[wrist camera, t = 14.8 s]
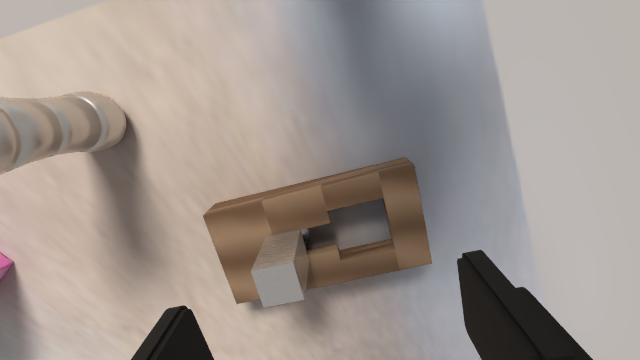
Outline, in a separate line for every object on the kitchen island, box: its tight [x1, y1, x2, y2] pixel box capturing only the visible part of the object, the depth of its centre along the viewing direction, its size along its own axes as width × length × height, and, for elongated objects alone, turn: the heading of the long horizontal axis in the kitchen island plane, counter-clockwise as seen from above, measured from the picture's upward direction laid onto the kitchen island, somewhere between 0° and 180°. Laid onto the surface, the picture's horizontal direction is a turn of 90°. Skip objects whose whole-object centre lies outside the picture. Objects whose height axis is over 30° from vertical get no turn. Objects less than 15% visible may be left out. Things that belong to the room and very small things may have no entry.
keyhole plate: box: [203, 158, 432, 304], centre depth 37 cm, size 12×24×4 cm, turn 104°
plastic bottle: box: [0, 91, 126, 175], centre depth 27 cm, size 6×7×20 cm
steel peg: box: [251, 228, 310, 308], centre depth 34 cm, size 4×4×12 cm
